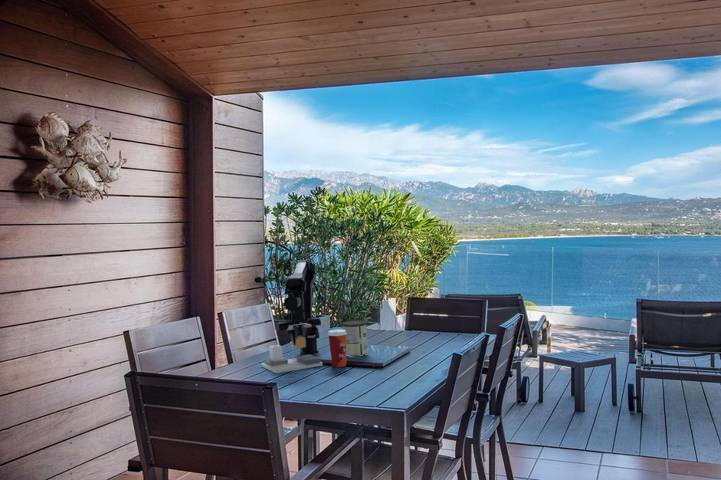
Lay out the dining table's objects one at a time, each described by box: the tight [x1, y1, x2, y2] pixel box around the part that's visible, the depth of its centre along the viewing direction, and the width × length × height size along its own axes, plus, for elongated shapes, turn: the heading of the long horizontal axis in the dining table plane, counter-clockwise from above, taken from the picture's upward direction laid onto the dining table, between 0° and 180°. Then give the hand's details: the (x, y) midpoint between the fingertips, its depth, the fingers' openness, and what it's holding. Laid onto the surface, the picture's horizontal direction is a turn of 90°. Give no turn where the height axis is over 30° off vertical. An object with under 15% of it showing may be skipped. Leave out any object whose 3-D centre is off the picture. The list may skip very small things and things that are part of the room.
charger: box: [268, 344, 284, 362], centre depth 274 cm, size 4×4×7 cm
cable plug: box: [289, 336, 306, 349], centre depth 284 cm, size 4×12×4 cm, turn 28°
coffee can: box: [341, 319, 369, 356], centre depth 288 cm, size 10×10×14 cm
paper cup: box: [327, 328, 347, 368], centre depth 269 cm, size 8×8×14 cm
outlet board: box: [261, 357, 324, 374], centre depth 273 cm, size 20×16×3 cm
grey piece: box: [296, 354, 321, 365], centre depth 273 cm, size 6×10×2 cm, turn 28°
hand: (299, 344), depth 281 cm, fingers closed on cable plug, 4 cm apart
